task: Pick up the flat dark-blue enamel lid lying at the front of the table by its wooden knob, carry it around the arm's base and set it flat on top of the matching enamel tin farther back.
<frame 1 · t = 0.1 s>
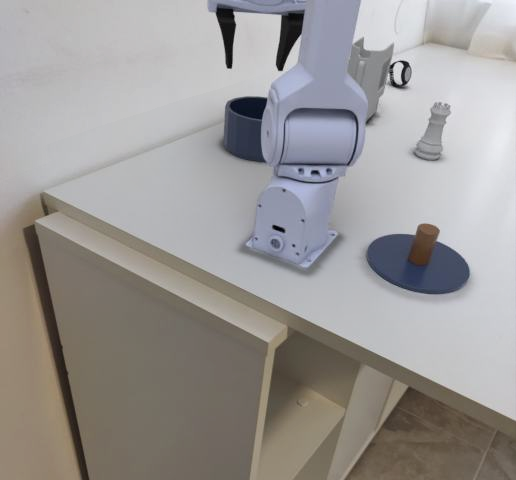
hand: (254, 66, 79), 11 cm above the table, tool pointing down, fingers open, 7 cm apart
tin: (258, 147, 84), on the table
smartwatch: (396, 87, 117), on the table
rook chess piece: (426, 156, 88), on the table
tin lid: (417, 263, 61), point 1 cm above the table
cable organizer: (359, 115, 100), on the table
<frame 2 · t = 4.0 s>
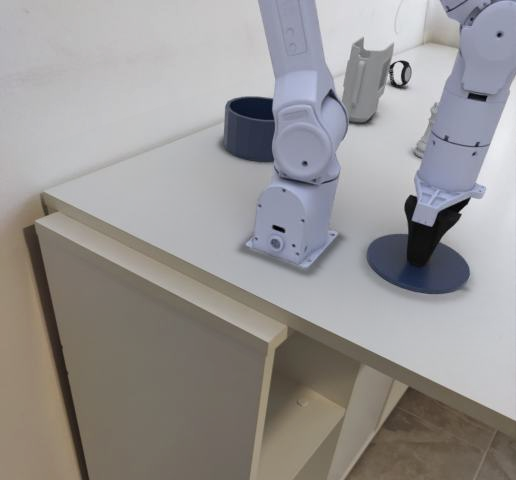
hand: (419, 256, 60), 2 cm above the table, tool pointing down, fingers closed on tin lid, 2 cm apart
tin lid: (417, 263, 61), point 1 cm above the table, touching gripper
everything else where it was.
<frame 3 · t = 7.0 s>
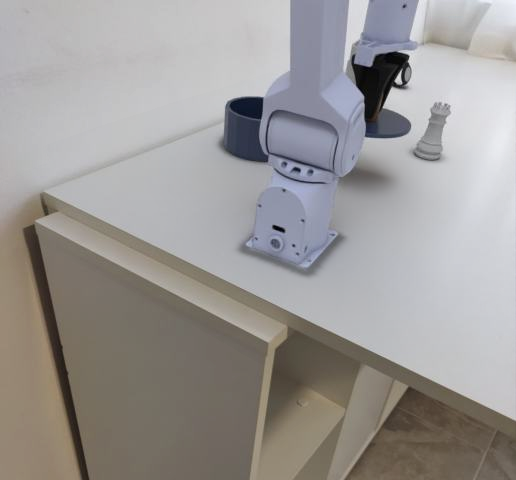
hand: (368, 114, 72), 9 cm above the table, tool pointing down, fingers closed on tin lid, 2 cm apart
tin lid: (367, 122, 72), point 8 cm above the table, touching gripper
everything else where it was.
when the fingers open (7 cm above the table, at t = 10.3 s): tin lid stays where it is, resting on tin.
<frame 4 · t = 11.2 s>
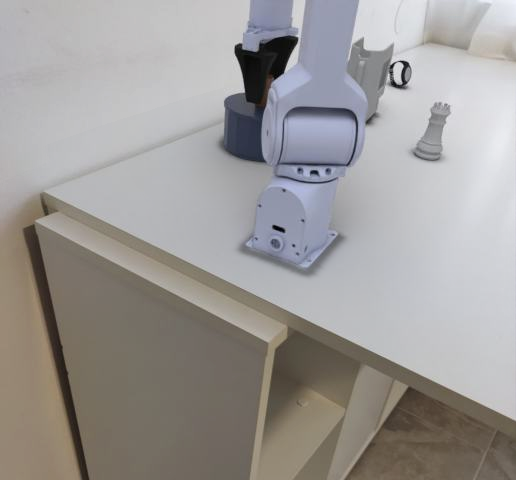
hand: (263, 95, 79), 8 cm above the table, tool pointing down, fingers open, 7 cm apart
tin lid: (262, 108, 80), point 6 cm above the table, touching tin
everything else where it was.
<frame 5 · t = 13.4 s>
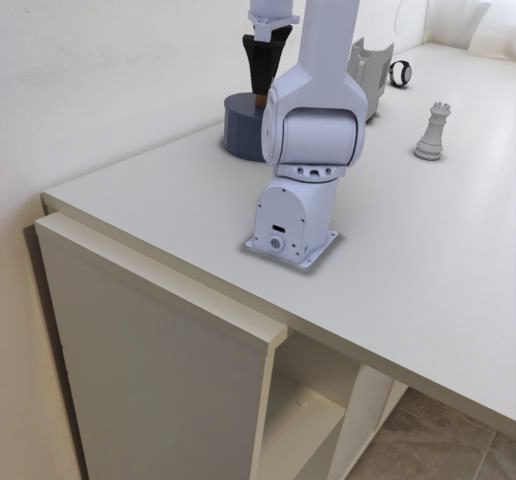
hand: (263, 86, 78), 9 cm above the table, tool pointing down, fingers open, 7 cm apart
nothing on the table moved.
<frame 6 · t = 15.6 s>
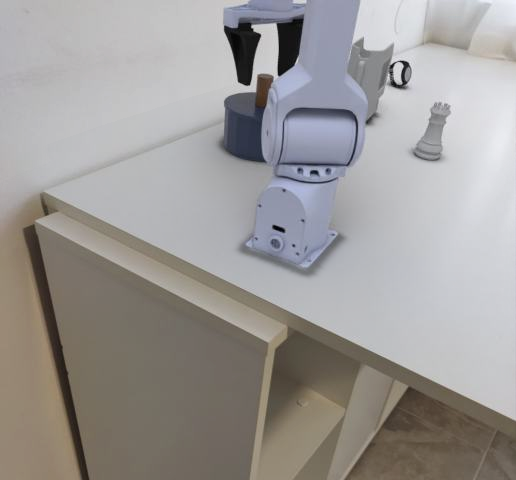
hand: (264, 80, 77), 10 cm above the table, tool pointing down, fingers open, 7 cm apart
nothing on the table moved.
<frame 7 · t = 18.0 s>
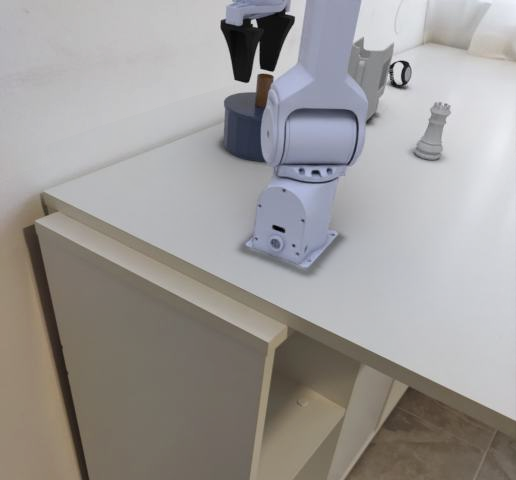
hand: (254, 75, 77), 10 cm above the table, tool pointing down, fingers open, 7 cm apart
nothing on the table moved.
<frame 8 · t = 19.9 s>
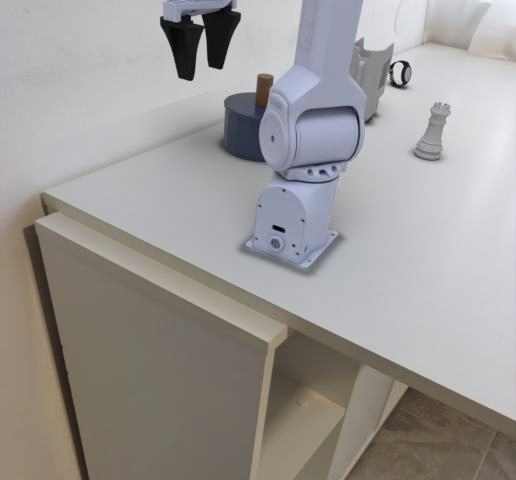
hand: (201, 73, 75), 10 cm above the table, tool pointing down, fingers open, 7 cm apart
nothing on the table moved.
at the end: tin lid 0.1 cm off-centre on the tin, point 5.9 cm above the tin's base; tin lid tilted 0° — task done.
